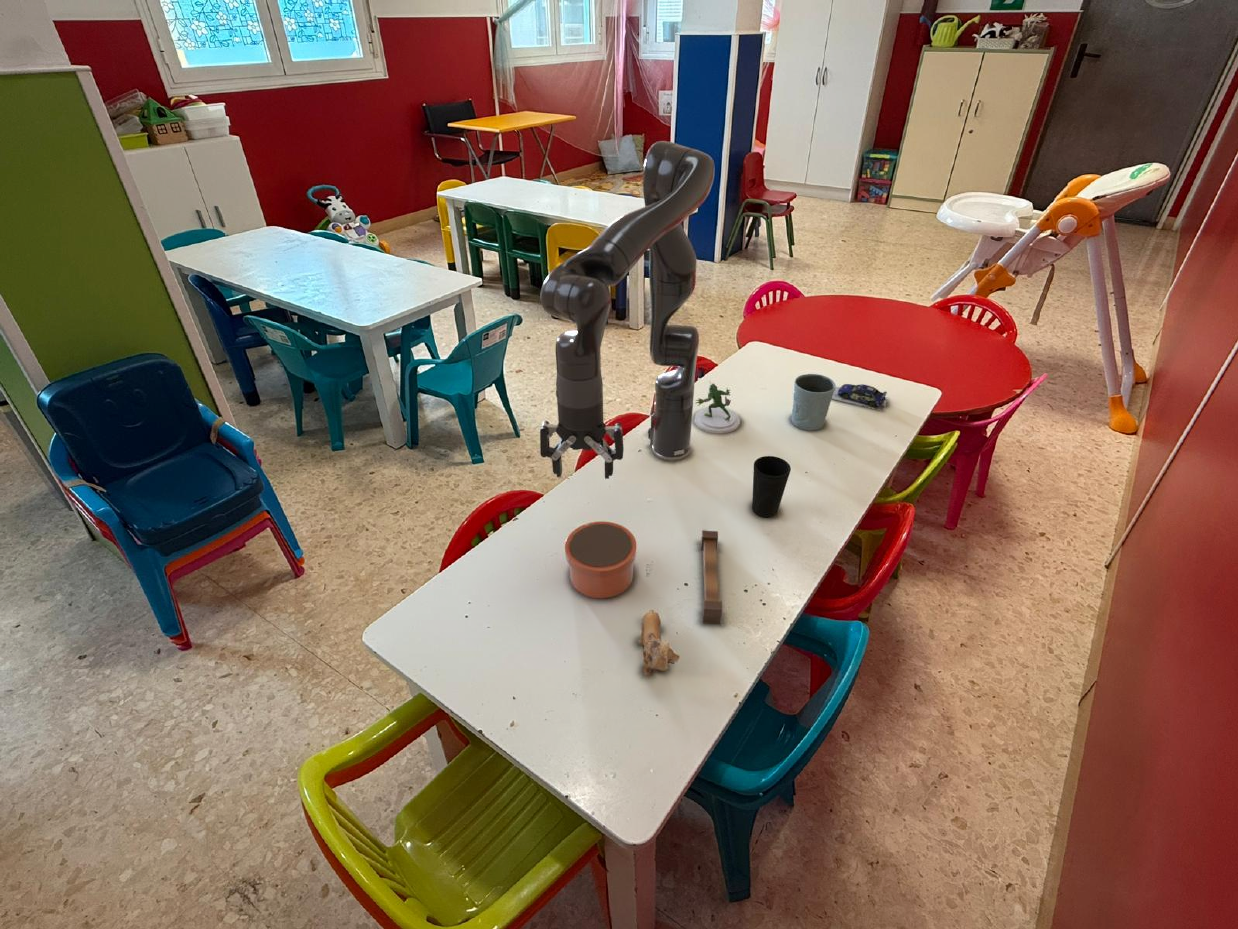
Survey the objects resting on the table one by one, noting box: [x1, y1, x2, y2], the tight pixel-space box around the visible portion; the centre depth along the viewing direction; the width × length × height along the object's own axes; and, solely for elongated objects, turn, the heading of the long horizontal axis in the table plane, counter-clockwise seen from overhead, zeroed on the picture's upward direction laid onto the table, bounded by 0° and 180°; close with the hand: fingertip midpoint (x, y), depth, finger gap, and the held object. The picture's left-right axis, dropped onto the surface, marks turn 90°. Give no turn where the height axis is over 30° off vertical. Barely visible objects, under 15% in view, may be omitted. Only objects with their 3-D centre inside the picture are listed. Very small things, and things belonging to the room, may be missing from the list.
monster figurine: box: [694, 380, 741, 434], centre depth 167 cm, size 12×12×10 cm
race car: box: [831, 383, 888, 411], centre depth 178 cm, size 15×7×4 cm, turn 63°
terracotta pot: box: [564, 520, 638, 599], centre depth 122 cm, size 14×14×8 cm
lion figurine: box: [637, 609, 681, 676], centre depth 107 cm, size 15×5×9 cm, turn 13°
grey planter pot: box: [791, 373, 837, 431], centre depth 166 cm, size 10×10×12 cm
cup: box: [751, 455, 792, 519], centre depth 137 cm, size 8×8×12 cm
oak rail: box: [700, 530, 723, 625], centre depth 122 cm, size 21×3×4 cm, turn 175°
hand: (583, 475), depth 112 cm, fingers open, 8 cm apart
